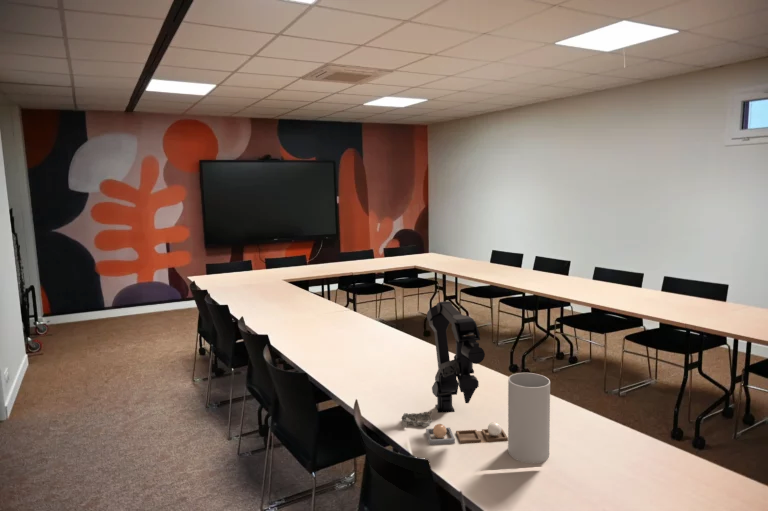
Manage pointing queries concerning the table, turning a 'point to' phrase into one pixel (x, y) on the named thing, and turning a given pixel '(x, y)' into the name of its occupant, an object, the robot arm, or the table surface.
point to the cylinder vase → (528, 417)
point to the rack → (479, 436)
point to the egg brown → (439, 430)
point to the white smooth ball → (494, 429)
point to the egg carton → (414, 416)
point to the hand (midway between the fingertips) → (464, 397)
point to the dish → (440, 441)
